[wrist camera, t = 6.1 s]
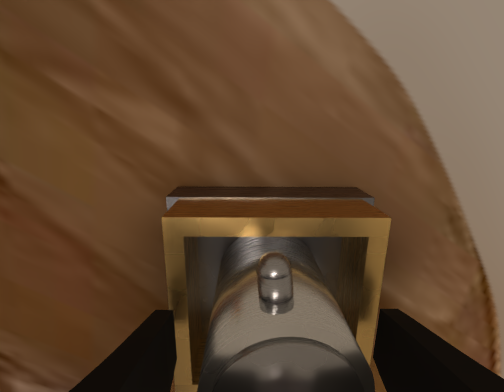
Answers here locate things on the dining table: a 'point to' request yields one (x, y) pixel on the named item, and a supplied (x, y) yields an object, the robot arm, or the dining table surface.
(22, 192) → the dining table surface
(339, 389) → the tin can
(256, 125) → the dining table surface
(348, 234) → the grey and gold fixture
